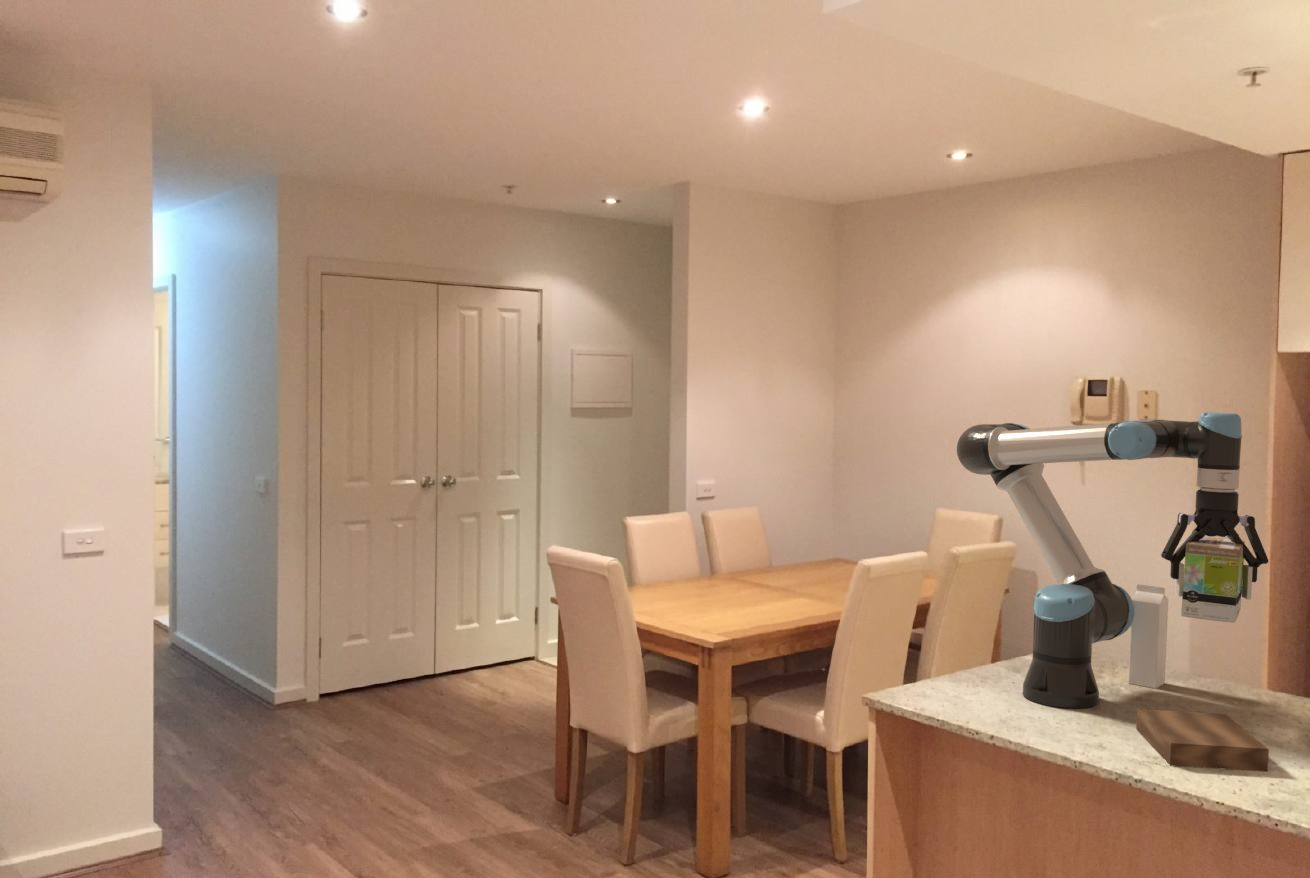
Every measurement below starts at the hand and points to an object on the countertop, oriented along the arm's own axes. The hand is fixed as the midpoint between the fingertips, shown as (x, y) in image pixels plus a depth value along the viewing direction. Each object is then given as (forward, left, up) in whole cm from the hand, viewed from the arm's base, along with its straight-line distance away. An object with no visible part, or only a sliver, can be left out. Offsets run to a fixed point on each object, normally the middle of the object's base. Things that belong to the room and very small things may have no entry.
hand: (1212, 596), depth 218 cm
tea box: (0, 0, -4) cm, 4 cm away
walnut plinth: (-9, -22, -24) cm, 34 cm away
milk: (-5, +23, -24) cm, 34 cm away
